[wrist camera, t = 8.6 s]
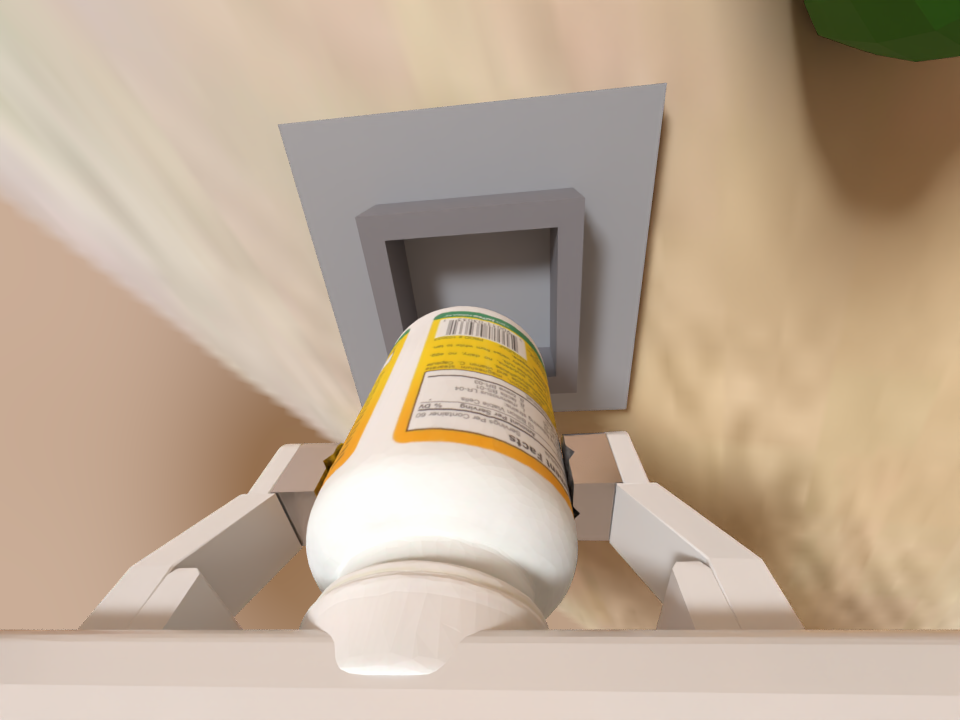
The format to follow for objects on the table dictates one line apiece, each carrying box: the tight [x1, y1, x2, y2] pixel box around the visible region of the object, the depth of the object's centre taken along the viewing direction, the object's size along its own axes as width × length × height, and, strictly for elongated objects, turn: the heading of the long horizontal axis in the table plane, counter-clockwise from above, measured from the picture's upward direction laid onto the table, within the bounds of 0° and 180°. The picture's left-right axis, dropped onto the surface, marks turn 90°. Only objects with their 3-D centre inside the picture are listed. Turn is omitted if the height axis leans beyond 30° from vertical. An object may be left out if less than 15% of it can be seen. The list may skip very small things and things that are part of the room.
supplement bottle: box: [299, 306, 578, 675], centre depth 9 cm, size 5×5×10 cm
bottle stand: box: [278, 83, 667, 412], centre depth 19 cm, size 16×16×4 cm
